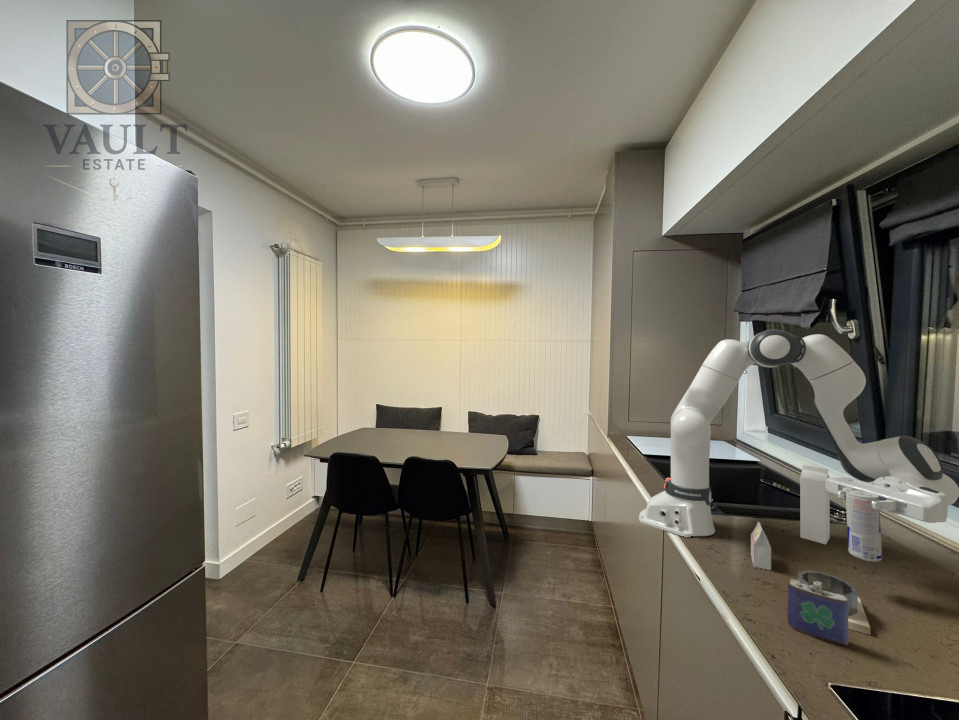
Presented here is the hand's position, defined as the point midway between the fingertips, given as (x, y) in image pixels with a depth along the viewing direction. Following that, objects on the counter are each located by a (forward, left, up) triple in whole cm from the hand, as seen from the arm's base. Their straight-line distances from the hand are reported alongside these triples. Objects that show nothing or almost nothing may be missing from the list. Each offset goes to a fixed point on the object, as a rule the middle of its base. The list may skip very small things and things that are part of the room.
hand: (855, 500), depth 90 cm
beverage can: (+2, 0, -13) cm, 14 cm away
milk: (-5, +29, -22) cm, 37 cm away
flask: (-9, -24, -22) cm, 34 cm away
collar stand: (-6, -12, -22) cm, 26 cm away
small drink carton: (-18, +2, -22) cm, 29 cm away
